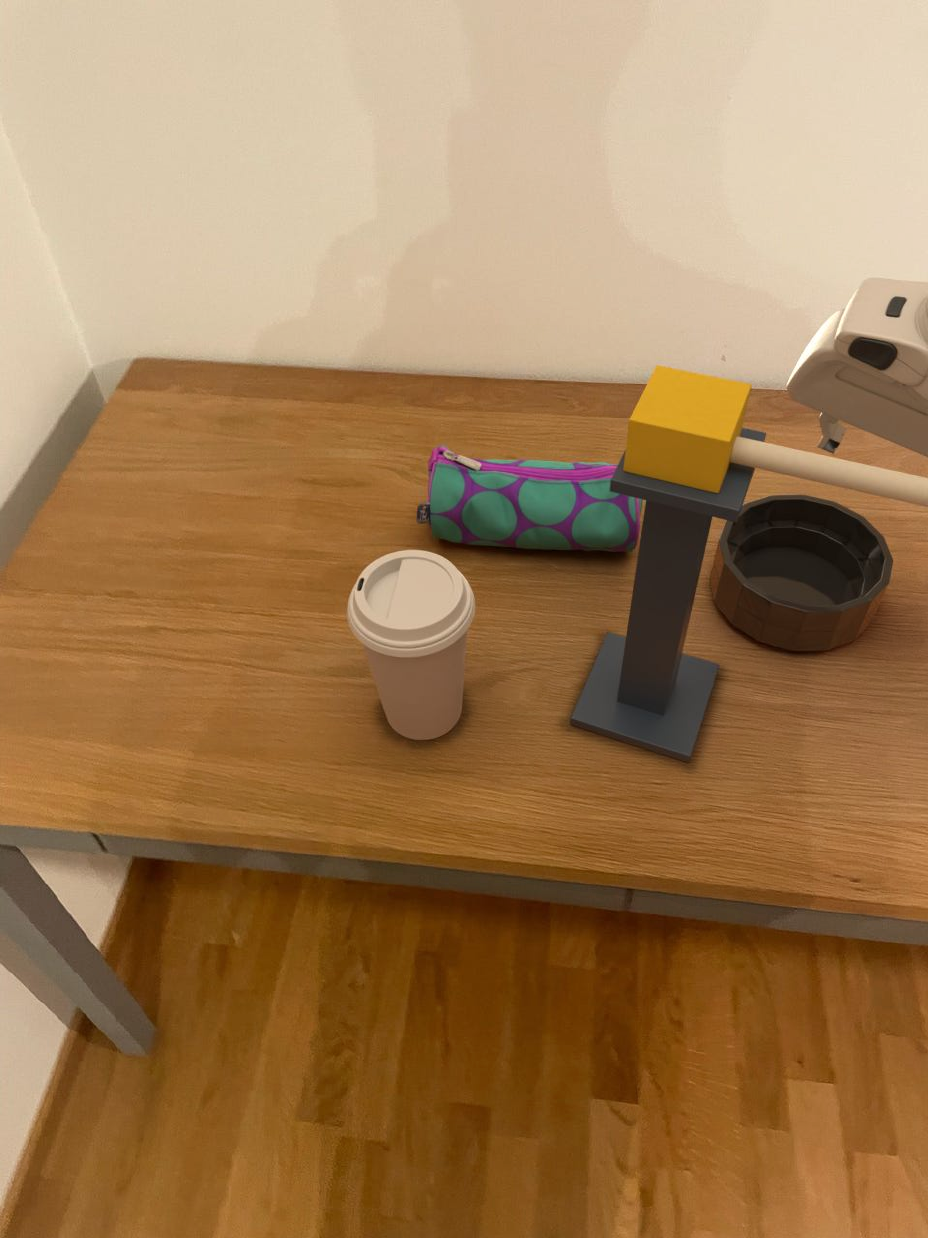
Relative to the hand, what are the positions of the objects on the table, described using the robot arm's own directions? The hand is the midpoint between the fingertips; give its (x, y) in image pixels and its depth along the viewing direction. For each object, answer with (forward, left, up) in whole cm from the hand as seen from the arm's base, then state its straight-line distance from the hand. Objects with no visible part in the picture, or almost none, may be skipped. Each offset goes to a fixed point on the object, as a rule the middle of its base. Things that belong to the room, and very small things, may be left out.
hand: (880, 468), depth 77 cm
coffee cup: (+30, +29, -13) cm, 43 cm away
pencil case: (+29, +6, -13) cm, 32 cm away
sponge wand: (+7, +21, +13) cm, 26 cm away
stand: (+13, +21, -13) cm, 27 cm away
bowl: (+4, +5, -13) cm, 14 cm away
